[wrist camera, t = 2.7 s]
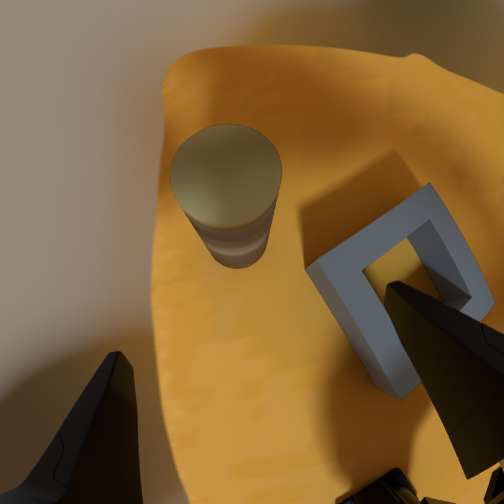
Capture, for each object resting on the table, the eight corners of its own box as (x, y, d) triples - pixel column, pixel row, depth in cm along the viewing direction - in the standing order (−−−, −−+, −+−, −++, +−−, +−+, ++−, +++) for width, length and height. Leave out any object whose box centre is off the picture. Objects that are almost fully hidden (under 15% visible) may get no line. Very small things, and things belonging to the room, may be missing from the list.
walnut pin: (278, 248, 22) (304, 186, 11) (226, 280, 21) (202, 245, 11) (247, 200, 23) (244, 109, 12) (196, 229, 22) (152, 156, 11)
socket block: (466, 306, 21) (495, 303, 17) (377, 388, 20) (400, 400, 16) (406, 200, 23) (429, 182, 19) (304, 269, 22) (316, 259, 18)
